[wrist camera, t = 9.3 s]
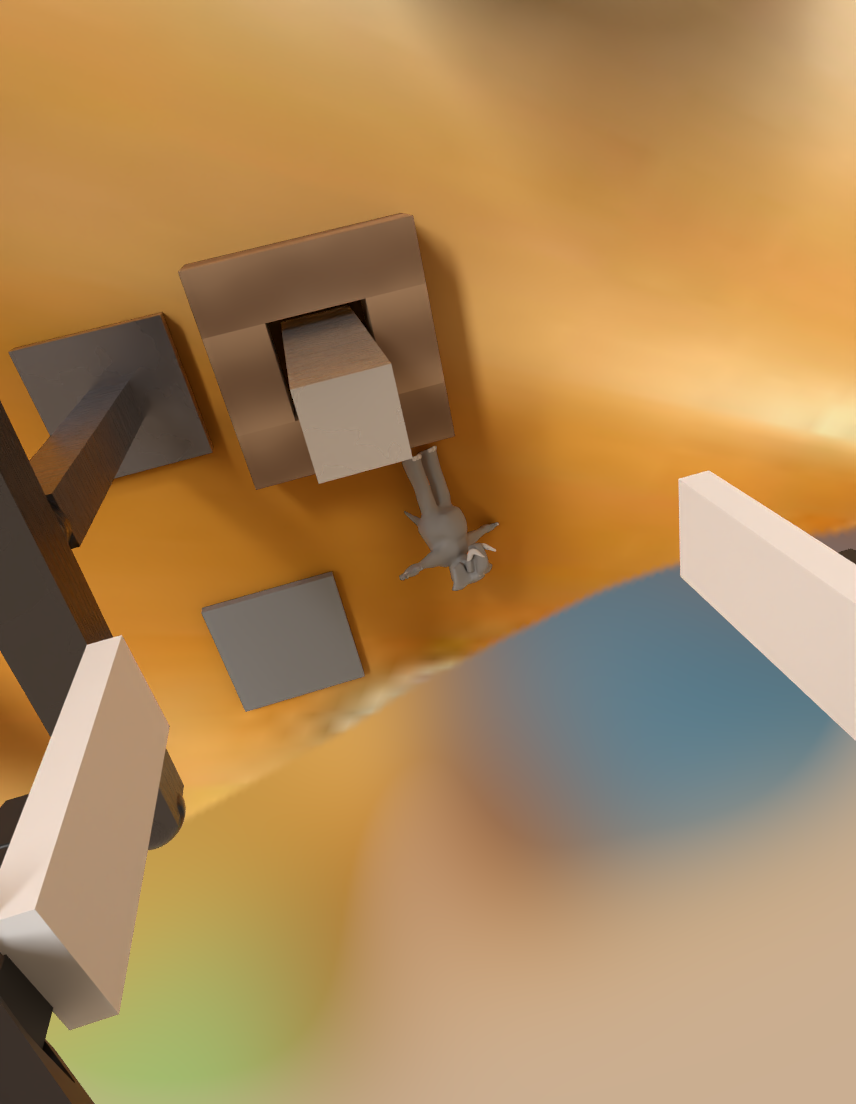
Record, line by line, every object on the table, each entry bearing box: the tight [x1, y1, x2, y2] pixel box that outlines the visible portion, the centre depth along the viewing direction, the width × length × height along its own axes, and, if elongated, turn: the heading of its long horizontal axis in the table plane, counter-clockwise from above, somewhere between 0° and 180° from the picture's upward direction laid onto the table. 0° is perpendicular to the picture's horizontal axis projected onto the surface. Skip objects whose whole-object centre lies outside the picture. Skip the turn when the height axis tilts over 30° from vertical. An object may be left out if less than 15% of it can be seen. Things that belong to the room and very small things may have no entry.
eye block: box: [178, 213, 455, 490], centre depth 39 cm, size 12×12×4 cm
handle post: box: [8, 312, 213, 549], centre depth 32 cm, size 8×8×17 cm
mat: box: [202, 571, 365, 712], centre depth 49 cm, size 9×9×1 cm
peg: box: [281, 305, 412, 484], centre depth 34 cm, size 4×4×15 cm
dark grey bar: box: [0, 401, 185, 850], centre depth 23 cm, size 3×28×4 cm, turn 9°
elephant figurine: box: [399, 446, 499, 591], centre depth 45 cm, size 10×6×9 cm
